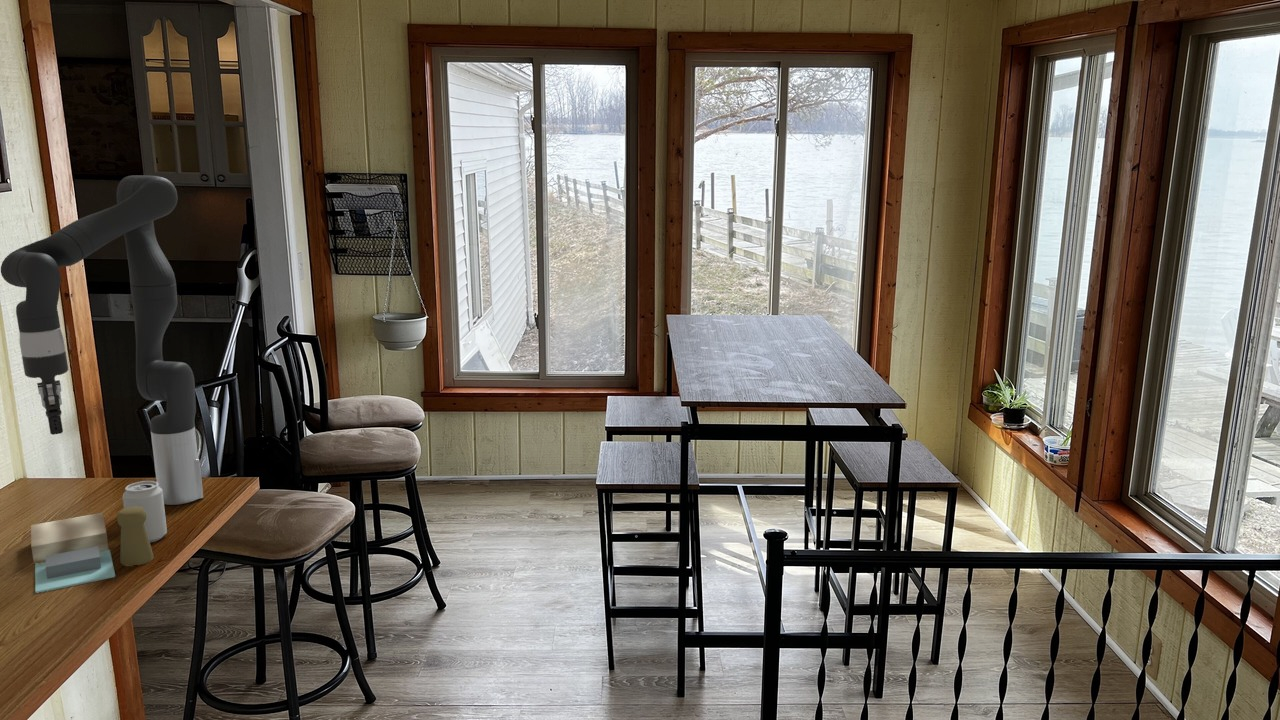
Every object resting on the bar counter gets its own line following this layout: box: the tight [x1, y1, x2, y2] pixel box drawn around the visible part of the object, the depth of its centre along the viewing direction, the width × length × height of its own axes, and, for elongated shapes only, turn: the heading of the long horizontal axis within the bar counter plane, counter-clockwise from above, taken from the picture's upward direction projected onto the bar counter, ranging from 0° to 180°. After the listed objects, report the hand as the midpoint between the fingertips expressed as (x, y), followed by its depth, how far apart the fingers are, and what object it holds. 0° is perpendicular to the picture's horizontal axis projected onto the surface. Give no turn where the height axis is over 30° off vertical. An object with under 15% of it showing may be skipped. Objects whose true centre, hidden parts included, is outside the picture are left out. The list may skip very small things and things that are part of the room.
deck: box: [30, 512, 110, 565], centre depth 193 cm, size 13×13×4 cm
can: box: [122, 480, 168, 544], centre depth 197 cm, size 8×8×12 cm
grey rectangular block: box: [45, 546, 101, 579], centre depth 183 cm, size 9×6×2 cm, turn 122°
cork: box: [116, 506, 155, 567], centre depth 186 cm, size 6×6×11 cm
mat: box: [34, 549, 116, 594], centre depth 182 cm, size 13×14×1 cm
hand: (56, 432), depth 191 cm, fingers closed
